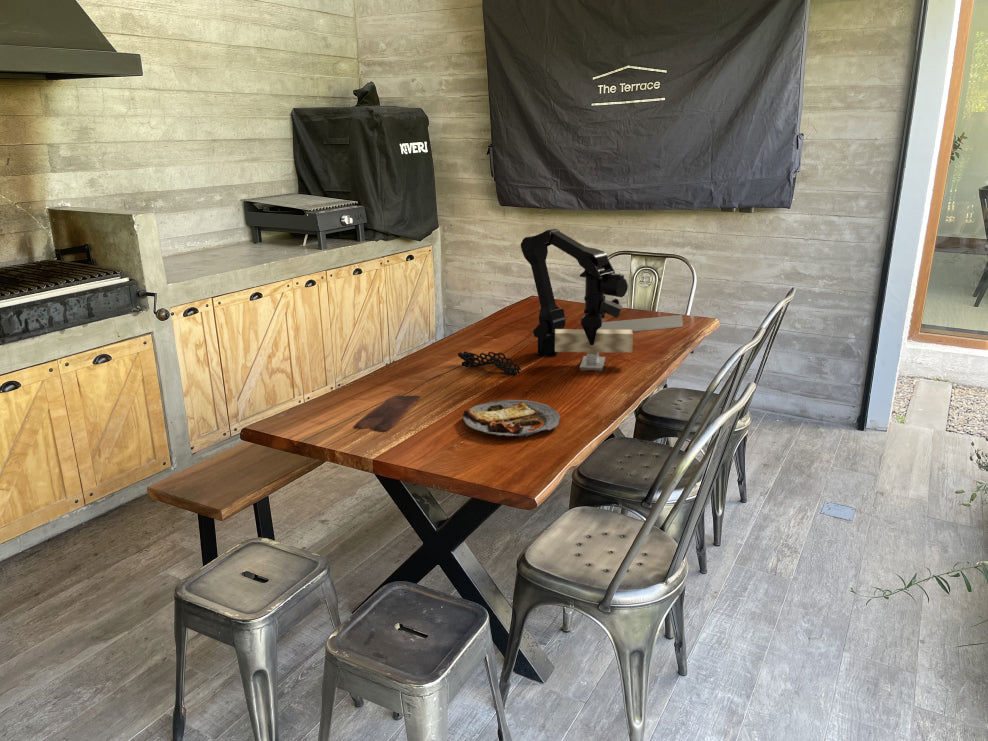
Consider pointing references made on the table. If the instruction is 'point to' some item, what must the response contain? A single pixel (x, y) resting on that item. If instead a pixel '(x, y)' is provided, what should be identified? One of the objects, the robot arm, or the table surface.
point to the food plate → (510, 417)
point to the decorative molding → (645, 323)
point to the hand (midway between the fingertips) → (593, 341)
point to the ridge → (592, 362)
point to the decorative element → (470, 361)
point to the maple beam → (603, 342)
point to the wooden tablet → (387, 413)
